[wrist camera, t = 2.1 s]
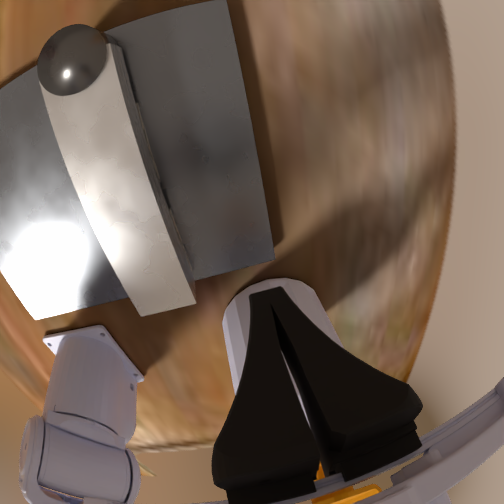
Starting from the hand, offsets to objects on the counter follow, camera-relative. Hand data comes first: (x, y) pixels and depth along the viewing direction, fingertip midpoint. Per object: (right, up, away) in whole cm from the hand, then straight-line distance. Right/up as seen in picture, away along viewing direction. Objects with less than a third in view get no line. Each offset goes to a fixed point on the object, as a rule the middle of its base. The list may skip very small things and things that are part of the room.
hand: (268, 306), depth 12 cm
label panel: (-11, +7, +5) cm, 14 cm away
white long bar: (-8, +7, +4) cm, 11 cm away
